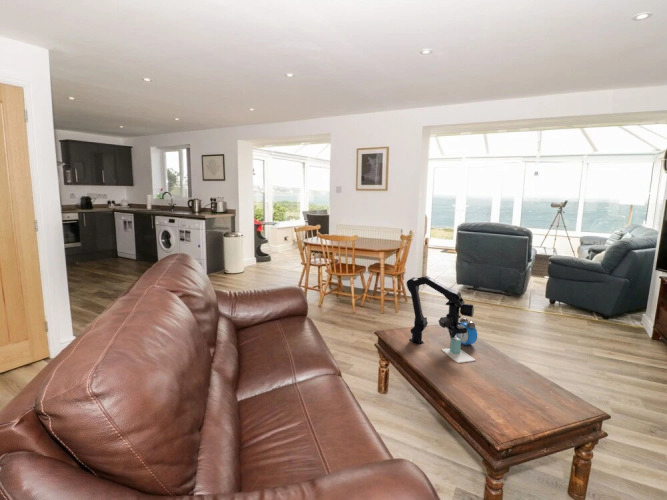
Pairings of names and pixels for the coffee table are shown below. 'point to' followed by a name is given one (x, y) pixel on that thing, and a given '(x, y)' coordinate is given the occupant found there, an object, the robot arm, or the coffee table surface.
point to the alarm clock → (471, 332)
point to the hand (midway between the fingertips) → (451, 339)
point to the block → (455, 345)
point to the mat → (459, 356)
